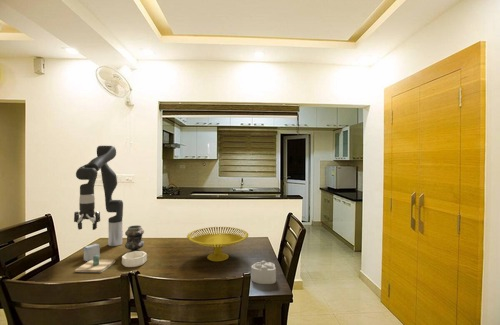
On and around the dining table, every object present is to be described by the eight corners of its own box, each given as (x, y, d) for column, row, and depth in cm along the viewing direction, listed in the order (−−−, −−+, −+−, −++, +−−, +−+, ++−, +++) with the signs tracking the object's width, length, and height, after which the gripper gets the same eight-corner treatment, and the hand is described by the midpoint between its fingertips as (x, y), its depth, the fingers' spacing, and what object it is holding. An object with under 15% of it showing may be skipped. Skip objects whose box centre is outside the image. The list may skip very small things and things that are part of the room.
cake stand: (240, 273, 148) (240, 247, 147) (175, 266, 156) (175, 241, 155) (253, 248, 187) (253, 228, 187) (200, 244, 195) (201, 224, 195)
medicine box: (96, 256, 171) (96, 243, 170) (100, 257, 168) (99, 244, 168) (83, 260, 164) (83, 246, 164) (87, 262, 162) (87, 248, 161)
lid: (91, 260, 162) (91, 251, 162) (115, 261, 162) (115, 251, 162) (74, 271, 147) (74, 261, 147) (101, 271, 147) (101, 261, 147)
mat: (91, 261, 162) (91, 261, 162) (115, 262, 161) (115, 261, 161) (75, 271, 148) (75, 270, 148) (101, 272, 147) (101, 271, 147)
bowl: (129, 258, 167) (129, 251, 167) (149, 259, 167) (149, 251, 167) (118, 267, 154) (118, 258, 154) (140, 267, 154) (140, 259, 154)
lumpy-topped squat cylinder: (276, 284, 136) (276, 267, 135) (251, 284, 135) (251, 267, 135) (274, 275, 146) (274, 259, 146) (251, 275, 146) (251, 259, 146)
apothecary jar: (147, 250, 183) (147, 224, 183) (138, 256, 171) (138, 229, 171) (131, 249, 184) (131, 224, 184) (121, 255, 172) (120, 228, 172)
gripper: (102, 200, 155) (103, 227, 156) (79, 200, 156) (80, 227, 156) (94, 203, 148) (94, 231, 148) (70, 202, 148) (70, 230, 149)
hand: (87, 229), depth 152 cm, fingers open, 8 cm apart
